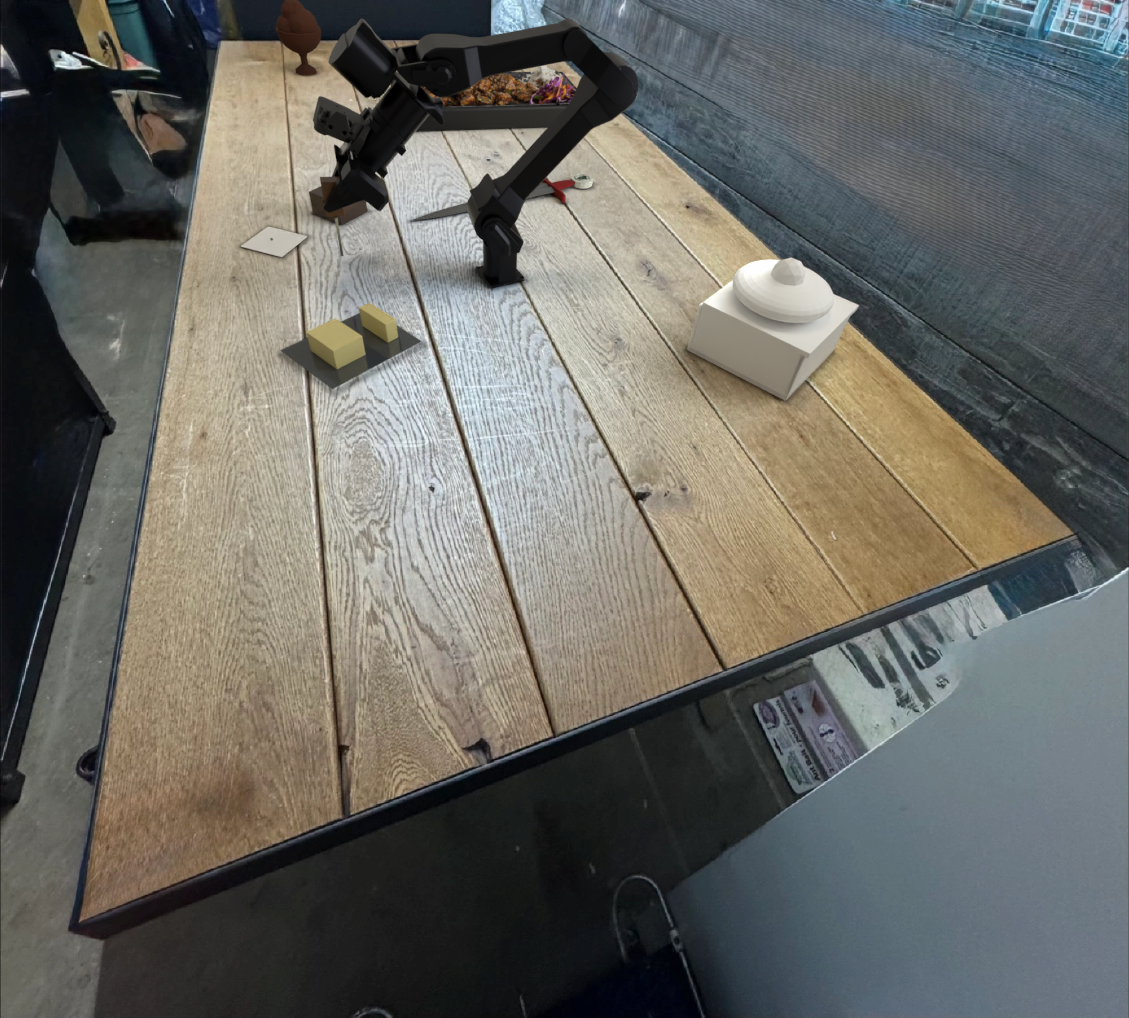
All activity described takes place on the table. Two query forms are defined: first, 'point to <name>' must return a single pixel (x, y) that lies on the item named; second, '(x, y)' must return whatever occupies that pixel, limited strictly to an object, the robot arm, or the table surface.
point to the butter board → (374, 356)
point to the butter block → (336, 343)
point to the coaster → (274, 241)
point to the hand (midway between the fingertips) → (325, 206)
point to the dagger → (544, 188)
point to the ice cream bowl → (298, 33)
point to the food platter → (506, 102)
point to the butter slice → (378, 322)
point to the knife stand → (349, 211)
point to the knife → (327, 187)
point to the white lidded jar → (771, 325)
